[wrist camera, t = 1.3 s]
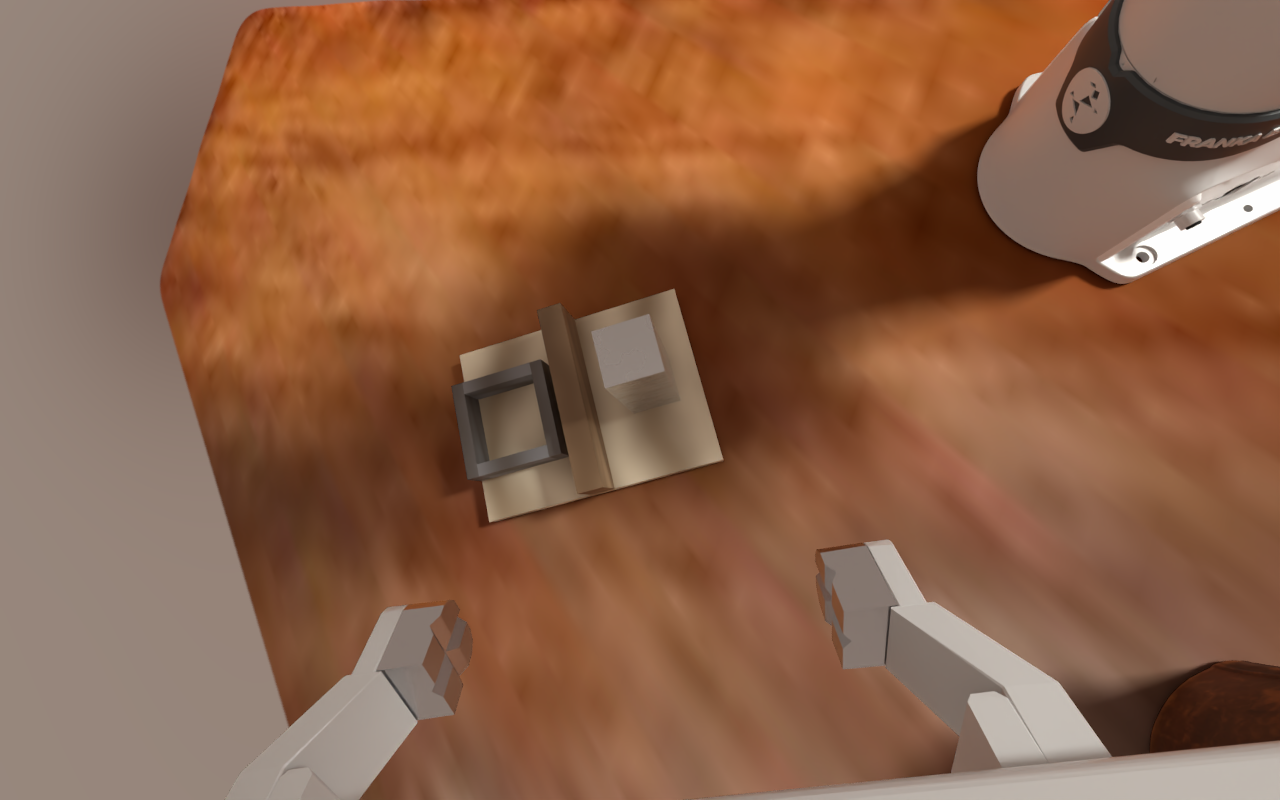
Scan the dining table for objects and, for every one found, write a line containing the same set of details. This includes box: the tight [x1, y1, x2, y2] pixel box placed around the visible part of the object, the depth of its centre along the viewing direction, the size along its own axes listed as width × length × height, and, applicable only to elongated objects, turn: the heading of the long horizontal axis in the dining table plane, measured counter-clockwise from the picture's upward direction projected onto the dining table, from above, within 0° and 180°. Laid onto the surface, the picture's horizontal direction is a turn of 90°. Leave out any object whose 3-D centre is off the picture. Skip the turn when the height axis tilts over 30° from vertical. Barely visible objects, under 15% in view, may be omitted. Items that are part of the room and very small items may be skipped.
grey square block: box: [591, 314, 681, 414], centre depth 39 cm, size 4×4×10 cm
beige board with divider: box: [451, 289, 724, 522], centre depth 43 cm, size 20×15×6 cm
